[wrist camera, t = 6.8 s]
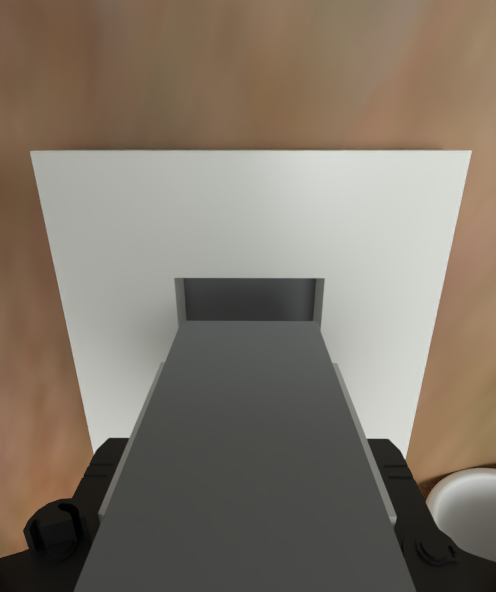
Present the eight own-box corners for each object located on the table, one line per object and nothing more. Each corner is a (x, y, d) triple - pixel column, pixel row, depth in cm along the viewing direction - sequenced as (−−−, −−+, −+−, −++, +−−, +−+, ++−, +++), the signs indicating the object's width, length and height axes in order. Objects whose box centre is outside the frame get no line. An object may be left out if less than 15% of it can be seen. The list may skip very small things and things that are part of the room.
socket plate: (59, 149, 17) (21, 151, 15) (442, 149, 17) (480, 150, 14) (112, 443, 24) (94, 483, 21) (387, 445, 24) (405, 486, 21)
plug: (181, 320, 15) (57, 633, 5) (316, 321, 15) (433, 637, 5) (189, 427, 17) (110, 789, 8) (308, 428, 17) (381, 794, 7)
